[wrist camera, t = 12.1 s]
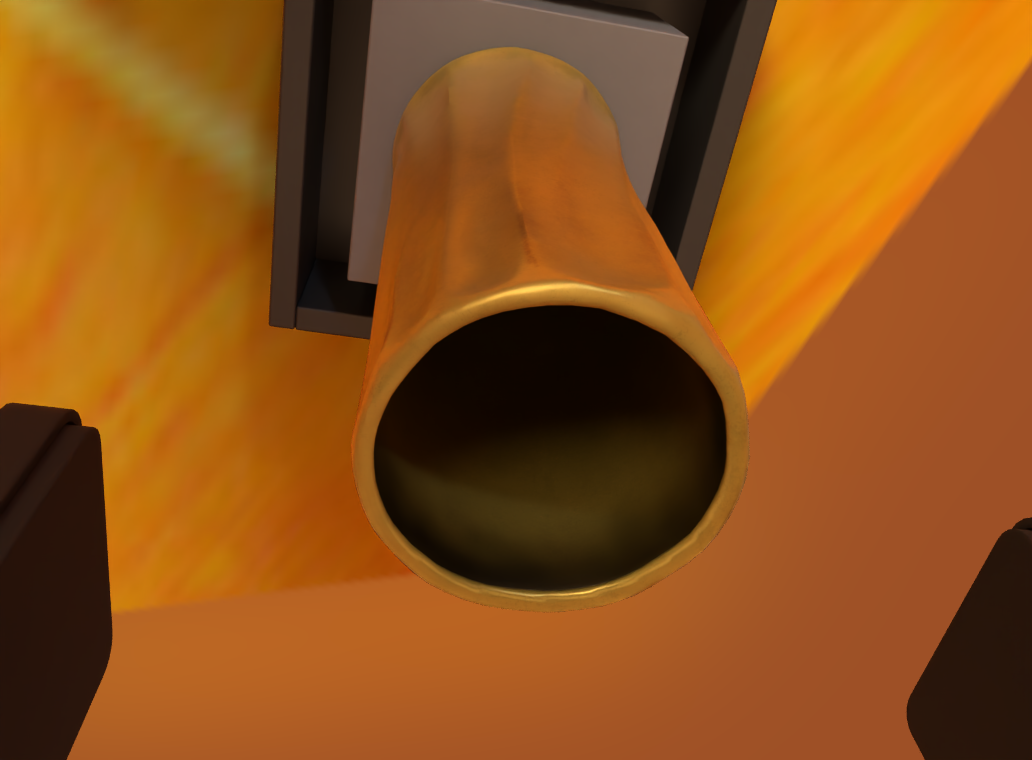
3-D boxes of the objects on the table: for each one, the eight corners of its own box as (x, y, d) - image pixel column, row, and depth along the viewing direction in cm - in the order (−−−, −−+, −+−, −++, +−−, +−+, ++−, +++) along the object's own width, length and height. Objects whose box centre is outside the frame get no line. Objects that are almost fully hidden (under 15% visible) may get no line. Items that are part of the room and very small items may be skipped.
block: (364, 222, 30) (346, 280, 25) (389, -38, 26) (374, -22, 22) (596, 257, 31) (618, 318, 26) (653, 12, 27) (690, 36, 23)
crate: (293, 270, 31) (268, 326, 27) (317, -143, 25) (289, -148, 21) (642, 320, 33) (666, 379, 29) (743, -58, 27) (791, -48, 23)
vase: (626, 255, 25) (782, 612, 13) (414, 284, 26) (367, 664, 13) (611, 30, 22) (795, 210, 10) (371, 63, 23) (256, 283, 10)
